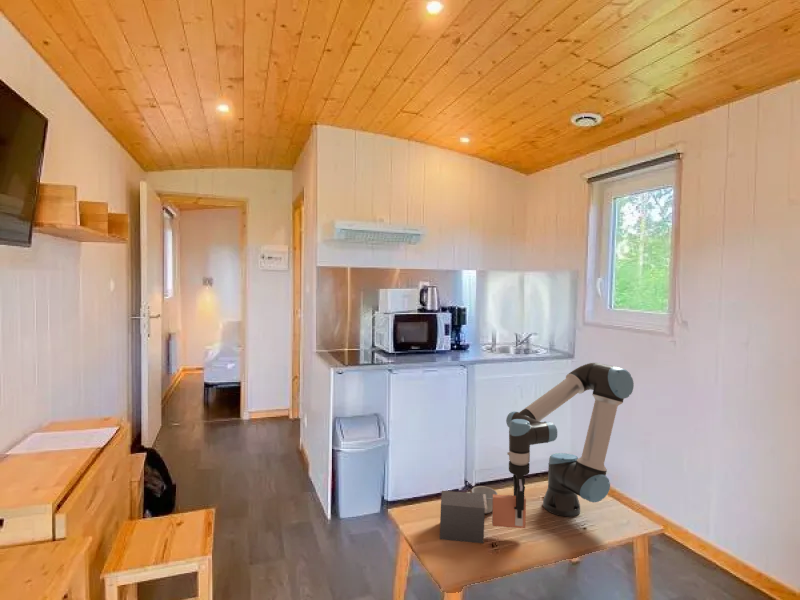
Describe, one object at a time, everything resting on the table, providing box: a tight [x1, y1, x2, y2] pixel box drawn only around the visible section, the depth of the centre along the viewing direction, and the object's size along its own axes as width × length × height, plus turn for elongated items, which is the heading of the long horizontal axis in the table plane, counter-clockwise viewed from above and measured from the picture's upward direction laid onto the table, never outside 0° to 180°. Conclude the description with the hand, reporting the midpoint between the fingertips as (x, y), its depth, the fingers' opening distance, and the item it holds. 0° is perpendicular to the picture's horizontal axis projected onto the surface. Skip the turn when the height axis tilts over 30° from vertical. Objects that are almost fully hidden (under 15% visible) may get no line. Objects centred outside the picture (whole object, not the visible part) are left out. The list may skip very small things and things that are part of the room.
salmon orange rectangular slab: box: [491, 494, 527, 529], centre depth 174 cm, size 12×2×11 cm, turn 83°
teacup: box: [465, 485, 498, 514], centre depth 195 cm, size 14×11×8 cm
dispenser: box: [439, 490, 488, 544], centre depth 176 cm, size 17×12×13 cm
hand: (518, 523), depth 174 cm, fingers closed on salmon orange rectangular slab, 2 cm apart
